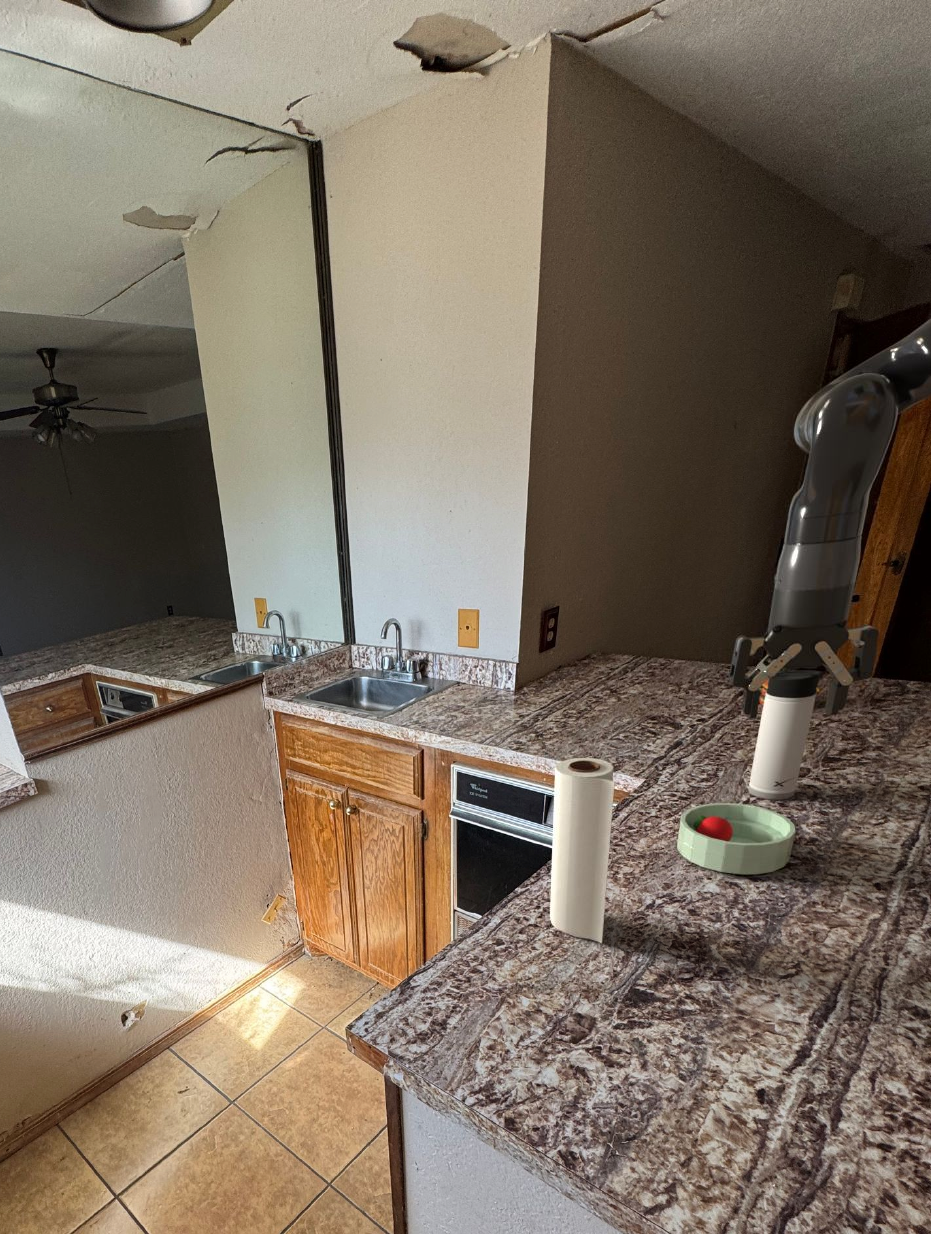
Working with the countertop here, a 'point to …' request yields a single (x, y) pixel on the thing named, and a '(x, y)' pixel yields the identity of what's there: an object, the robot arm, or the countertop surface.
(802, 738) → the travel mug
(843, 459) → the robot arm
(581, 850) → the paper towel roll
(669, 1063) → the countertop surface
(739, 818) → the bowl
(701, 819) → the red tomato
